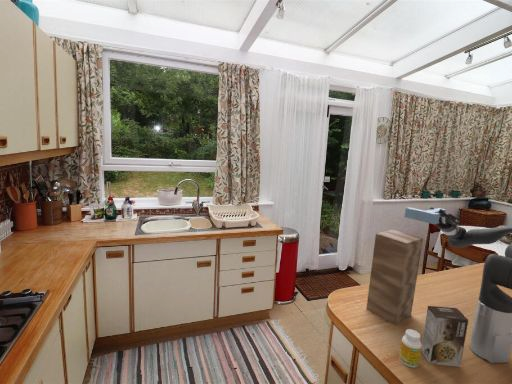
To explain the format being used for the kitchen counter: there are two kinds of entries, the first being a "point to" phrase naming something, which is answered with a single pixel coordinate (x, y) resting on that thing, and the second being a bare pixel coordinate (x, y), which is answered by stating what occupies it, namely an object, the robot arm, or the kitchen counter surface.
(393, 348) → the kitchen counter surface
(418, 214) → the t bar
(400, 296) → the pedestal
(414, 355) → the supplement bottle
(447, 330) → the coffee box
